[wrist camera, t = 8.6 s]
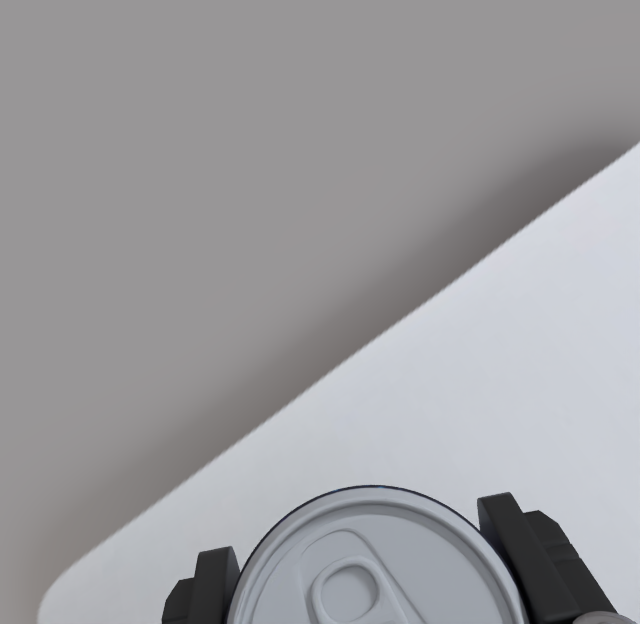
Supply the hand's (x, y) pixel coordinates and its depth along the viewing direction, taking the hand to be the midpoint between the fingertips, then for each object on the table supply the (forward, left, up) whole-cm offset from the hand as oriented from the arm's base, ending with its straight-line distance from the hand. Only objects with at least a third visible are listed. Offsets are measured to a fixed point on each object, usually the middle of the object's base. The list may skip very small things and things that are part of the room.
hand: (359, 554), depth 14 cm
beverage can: (-1, -1, -8) cm, 9 cm away
